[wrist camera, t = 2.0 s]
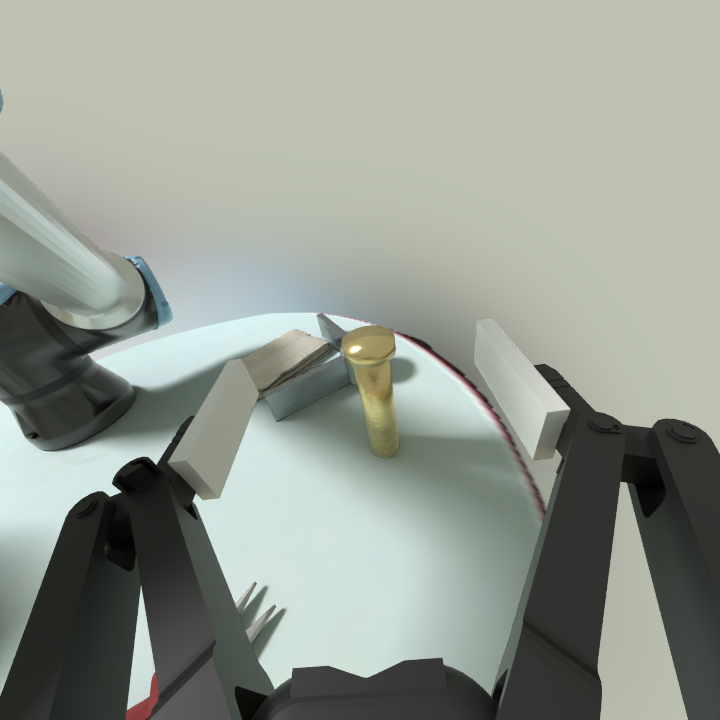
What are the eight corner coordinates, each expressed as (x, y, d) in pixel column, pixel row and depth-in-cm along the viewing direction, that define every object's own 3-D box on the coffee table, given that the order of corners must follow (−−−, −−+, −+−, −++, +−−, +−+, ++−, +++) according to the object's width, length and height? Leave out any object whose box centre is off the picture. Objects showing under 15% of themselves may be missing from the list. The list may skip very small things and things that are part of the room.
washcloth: (224, 381, 54) (217, 369, 52) (298, 335, 63) (294, 323, 61) (257, 407, 46) (250, 393, 45) (335, 350, 56) (331, 337, 54)
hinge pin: (358, 442, 37) (332, 339, 28) (389, 423, 39) (374, 320, 29) (380, 470, 34) (359, 363, 24) (413, 448, 35) (405, 339, 26)
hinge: (249, 368, 55) (239, 347, 52) (338, 328, 62) (333, 307, 59) (283, 433, 41) (271, 409, 38) (394, 372, 47) (391, 348, 44)
